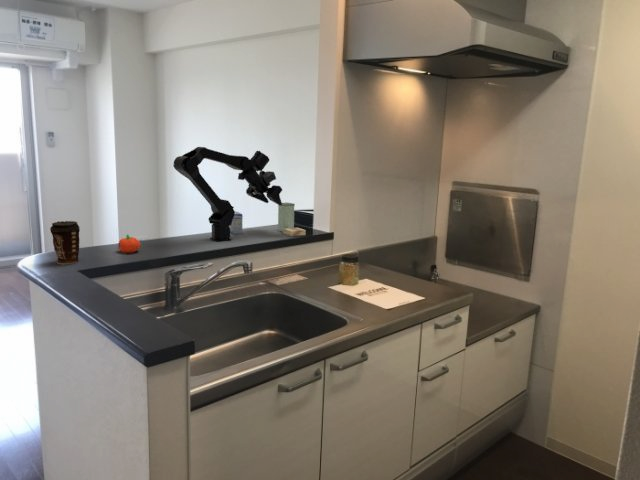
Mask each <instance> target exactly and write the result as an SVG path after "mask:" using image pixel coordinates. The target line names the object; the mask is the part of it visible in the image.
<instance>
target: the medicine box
mask: <svg viewBox="0 0 640 480" xmlns="http://www.w3.org/2000/svg"><path fill="white" fill-rule="evenodd" d="M234 211H235V210H234ZM243 217H244V216H243V213H241V212H239V211H235V214H234V218H233V220H232V224H231V225H229V228H230V234H231V235H241V234H243V219H244V218H243Z"/></svg>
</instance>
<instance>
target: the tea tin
mask: <svg viewBox="0 0 640 480" xmlns="http://www.w3.org/2000/svg"><path fill="white" fill-rule="evenodd" d="M277 205H278V204H277ZM277 208H278V209H277V210H278V212H277V215H278V216H277V218H278V219H277V221H278V222H277V231H278V232H279V231H280V232H283V229H287V228H295V203H294V202H293V203H292V202H282V205H281V206H280V205H278V206H277Z"/></svg>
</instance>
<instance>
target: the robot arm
mask: <svg viewBox="0 0 640 480" xmlns="http://www.w3.org/2000/svg"><path fill="white" fill-rule="evenodd" d="M204 159H206V160H210V161H213V162H217V163H221V164H225V166H227V167H228V168H231V169H232V170H235V171H236V170H237V171H241V172H238V176H237V180H241V181H244V180H245V181H246V183H247V184H248V185H247V186H248V187H247V188H246V190H245V193H246V195H247V196H249V197H251V198H253V199H256V200H259V201H262V202H264V203H265V204H268V203H270V202H269V201H271V202H273V203H274V204H276V205H280V206H281V205H282V203H283V202H282V198H281V197H280V196H281V195H280V194H281V193H282V191H283V187H281V185H274V184H273V185H272V186H271V183H272V182H273V181H276V180H277V177H276V174H275V172H274V171H265V170H263V169H264V168H265V167H266V166H267V164H268V163H269V162H270V158H269V156H268V155H266V154H265V153H263V152H261V150H256V151H255V152H254V154H253V155H252V157H251V158H249V157H248V156H243V155H232V154H227V153H224V152H220V151H217V150H213V149H210V148H208V147H206V146H197V147H196V148H193V149H191V150H190V151H188V152H185V153H184V154H183V155H180V156H177V157H175V159H174V160H173V165H172V166H173V168H174V169H175V171H176V172H178V173H179V174H180V175H182V176H183V177H185V178H186V179H188V180H189V181H190V183H192V184H193V186H194V187H195V188H196V190H197V191H198V192H199V193H200V195H202V196H203V198H204V199H205V200H206V201H207V203H208V204H209V205H210V210H211V212H212V214H211V215H210V216H209V217H208V222H209V225H210V224H211V236H210V237H209V239H210V240H212V241H215V242H222V241H232V240H231V232H230V228H229V225H231V224H232V220H233V218H234V214H235V207H234V206H232V204H231V202H230V201H229V200H227V199H222V198H221V197H219V196H218V194H217V193H216V192H215V190H213V188H212V187H211V186H210V185H209V183H208V182H207V181H206V179H205V178H204V177H203V175H201V173H200V168H199V165H200V164H201V163H202V162H203V160H204ZM270 186H271V187H270ZM265 194H266V195H265Z"/></svg>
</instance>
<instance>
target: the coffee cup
mask: <svg viewBox="0 0 640 480" xmlns="http://www.w3.org/2000/svg"><path fill="white" fill-rule="evenodd" d="M49 229H50V233H51V236H52V244H53V251H55V253H56V257H57V259H56V264H58V265H64V266H65V265H72V264H77V263H78V262H79V261H80V260H79V254H80V230H81V229H80V226H79V224H78V221H75V220H68V221H67V220H65V221H63V220H62V221H61V220H60V221H55V222H53V223H51V227H50V228H49Z"/></svg>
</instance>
